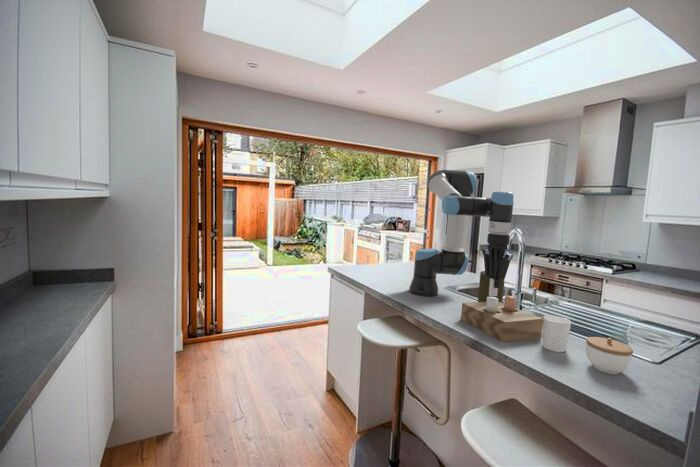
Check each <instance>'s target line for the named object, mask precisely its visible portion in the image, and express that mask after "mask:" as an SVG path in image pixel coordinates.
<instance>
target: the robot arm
mask: <svg viewBox="0 0 700 467" xmlns="http://www.w3.org/2000/svg"><path fill="white" fill-rule="evenodd" d="M477 184H478V183H477V178H476V175H475V174H474V173H473V171H469V170H468V171H467V170H457V169H456V170H455V169H454V170H453V169H451V170H450V169H440V170H437V171H435V172H433V173H432V174H431V175H430V176H429V177H428V179H427V188H428V190H429V191H430V192H431V193H432V194H434V195H436V196H437V197H438V198H439V200H440V201H441V209H442V212H443V214H445V215H448V216H447V224H446V225H447V226H446V234H445V243H444V246H443V247H441V251H439V249H438V248H429V247H428V248H420V249H418V250H416V251H415V254H414V267H413V278H412V280H411V281H410V285H409V287H408V291H409V293H410V294H411V293H412V294H413V295H417V296H424V297H435V296H438V295H439V288H438V283H437V275H438V274H439V275H452V276H460V275H463V274H464V273H465V272H466V271H467V268H468V265H469V264H468V263H469V255H468V254H467V253H466V250H465V249H464V248H463V241H464V234H465V233H464V232H465V224H466V216H471V217H484V218H485V217H486V218H489V219H488V229H487V230H488V232H489V233H487V240H486V241H487V244H488V245H487V248H486V249H482V255H483V260H484V262H483V263H484V265H483V266H484V271H485V275H487V276H488V277H489V286H490V287H489V296H497V293H498V288H499V285H500V279H504V280H505V279H506V277H507V276H506V275H507V273H508V269H509V268H510V267H509V266H510V263H511V261H512V259H513V258H514V255H513V254H510V252H509V249H508V246H509V245H510V239H511V238H510V237H511V236H510V234H511V228H512V219H513V218H512V217H513V211H514V210H513V209H514V204H515V202H514V198H515V197H514V193H513V192H511V191H493V192H492V193H491V197H480V196H478V197H477V196H472V195H474V194H475V193H476V190H477Z"/></svg>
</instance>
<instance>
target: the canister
mask: <svg viewBox="0 0 700 467" xmlns="http://www.w3.org/2000/svg"><path fill="white" fill-rule="evenodd" d="M479 275H480V276H479V283H478V294H477V295H478V296H477V302H486V301H487V297H495V298H498V301H499V302H501V303H503V300H504V298H503V297H504V290H505V288H504V286H505V279H500V285H499V288H498V293H497V296H489V287H490V286H489V277H488V276H487V275H485V270H481V271H480V273H479Z"/></svg>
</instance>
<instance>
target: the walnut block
mask: <svg viewBox="0 0 700 467" xmlns="http://www.w3.org/2000/svg"><path fill="white" fill-rule="evenodd" d="M460 320H461V321H462V322H464V323H466V324H468V325H470V326H471V327H474V328H476V329H477V330H480V331H482V332H483V333H486V334H488V335H489V336H492V337H493V338H495V339H497V340H498V341H500V342H502V343H504V342H505V343H506V342H512V341H514V342H515V341H522V340H529V339H531V340H532V339H540V338H539V337H541V338H542V336H543V317H540V316H538V315H535V314H532V313H530V312H527V311H524V310H522V309H519V308H517V307H516V308H515V312H508V311H506V310H504V303H503V302H502V303H501V302H499V301H498V308H497V313H493V314H491V313H489V312H486V302H478V301H474V302H470V301H469V302H462V304H461V314H460Z"/></svg>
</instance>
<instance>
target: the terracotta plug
mask: <svg viewBox="0 0 700 467" xmlns="http://www.w3.org/2000/svg"><path fill="white" fill-rule="evenodd" d="M516 306H517V297H515V296H513V295H505V296H504V310H506V311H508V312H515V308H517V307H516Z"/></svg>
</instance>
